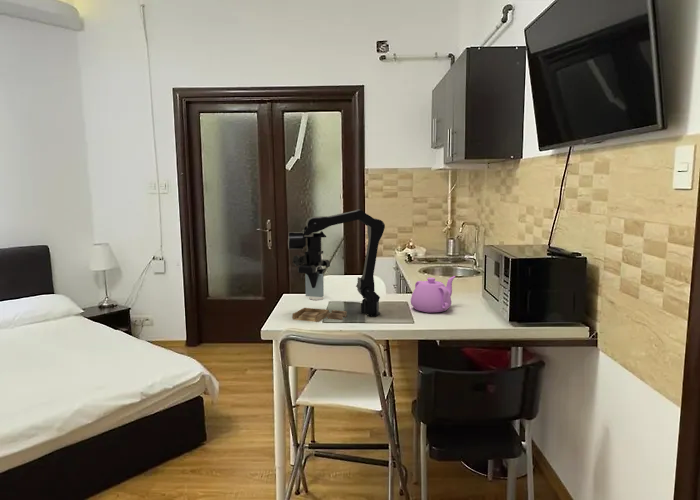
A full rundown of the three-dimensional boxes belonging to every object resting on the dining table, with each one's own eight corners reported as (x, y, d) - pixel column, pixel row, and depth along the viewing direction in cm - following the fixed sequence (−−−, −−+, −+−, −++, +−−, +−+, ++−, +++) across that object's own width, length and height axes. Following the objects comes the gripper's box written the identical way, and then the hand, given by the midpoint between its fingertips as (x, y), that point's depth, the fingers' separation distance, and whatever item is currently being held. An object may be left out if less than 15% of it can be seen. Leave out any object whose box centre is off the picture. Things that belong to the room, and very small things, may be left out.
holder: (346, 318, 209) (346, 311, 208) (341, 321, 204) (341, 314, 203) (332, 317, 211) (332, 310, 210) (327, 320, 206) (327, 313, 205)
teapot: (471, 311, 221) (472, 279, 219) (431, 317, 210) (432, 284, 208) (437, 301, 240) (438, 271, 238) (399, 306, 229) (399, 275, 227)
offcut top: (319, 315, 207) (319, 312, 207) (316, 317, 203) (316, 315, 203) (304, 314, 209) (304, 311, 208) (301, 316, 204) (301, 314, 204)
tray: (329, 317, 211) (329, 309, 211) (318, 323, 201) (318, 316, 200) (304, 314, 215) (304, 307, 214) (292, 321, 205) (292, 313, 204)
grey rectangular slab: (323, 296, 209) (323, 274, 208) (321, 297, 207) (321, 274, 206) (307, 294, 212) (307, 273, 210) (305, 295, 210) (305, 273, 209)
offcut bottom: (320, 317, 208) (320, 314, 207) (315, 320, 203) (315, 318, 203) (304, 315, 210) (304, 313, 210) (298, 318, 205) (298, 316, 205)
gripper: (305, 245, 218) (306, 281, 220) (285, 250, 201) (285, 290, 203) (330, 246, 215) (330, 283, 217) (311, 252, 197) (312, 292, 199)
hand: (314, 287), depth 209 cm, fingers closed on grey rectangular slab, 2 cm apart
